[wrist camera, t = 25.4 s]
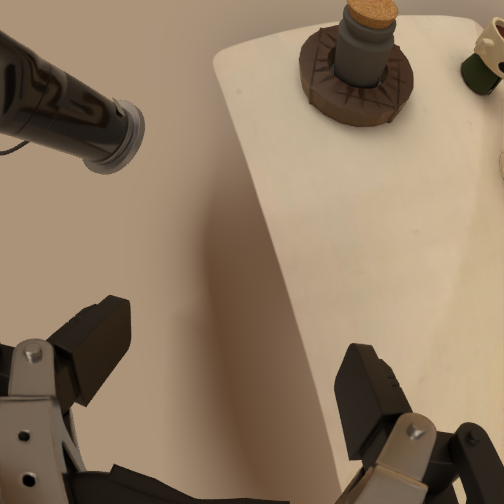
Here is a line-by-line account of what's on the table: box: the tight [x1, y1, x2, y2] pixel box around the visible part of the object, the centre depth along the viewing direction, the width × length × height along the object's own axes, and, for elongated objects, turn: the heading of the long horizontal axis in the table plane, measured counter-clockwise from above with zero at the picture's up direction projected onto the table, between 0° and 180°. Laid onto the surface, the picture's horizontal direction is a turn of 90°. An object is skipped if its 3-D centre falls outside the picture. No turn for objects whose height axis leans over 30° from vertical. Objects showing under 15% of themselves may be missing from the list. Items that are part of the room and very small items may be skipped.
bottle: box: [333, 0, 398, 89], centre depth 23 cm, size 6×6×15 cm
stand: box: [299, 25, 413, 127], centre depth 28 cm, size 14×14×4 cm
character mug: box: [461, 17, 504, 95], centre depth 20 cm, size 11×7×13 cm, turn 104°
